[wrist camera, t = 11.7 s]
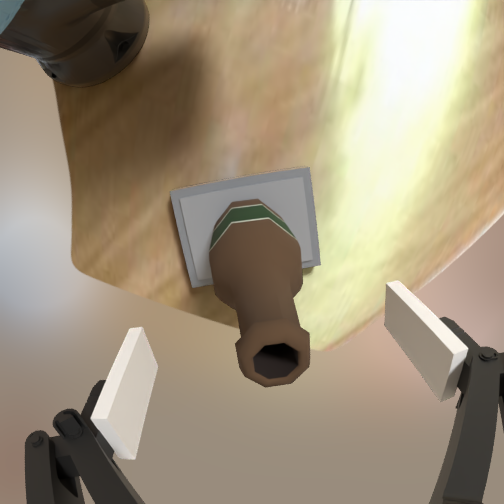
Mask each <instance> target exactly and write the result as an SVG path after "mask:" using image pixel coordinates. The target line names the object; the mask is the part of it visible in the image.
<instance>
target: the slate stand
mask: <svg viewBox="0 0 504 504" xmlns="http://www.w3.org/2000/svg"><path fill="white" fill-rule="evenodd" d="M170 195H171V200H172V205H173V209H174V214H175V218H176V223H177V227H178V231H179V236H180V240H181V244H182V248H183V253H184V257H185V261H186V265H187V269H188V273H189V277H190V281H191V285H192V288H194V287H200V286H206V285H212V284H213V279H212V273H211V267H210V262H209V250H210V245H211V240H212V235H213V230H214V226H215V223H216V222H217V220H218V219H219V218H220V217H221V215H222V214H223V213H224V211H225V210H226V209H227V207H228V206H229V205H230V204H231V202H235V201H242V200H250V199H259V200H260V201H262V202H263V203H264V204H266V205H267V206H268V207H270V208H271V209H272V210H273V211H275V212H276V213H277V214H278V215H280V216H281V217H282V219H283V220H284V222H285V223H286V225H287V226H288V227H289V229H290V230H291V232H292V233H293V235H294V236H295V238H296V239H297V240H298V243H299V245H300V248H301V259H302V268H308V267H313V266H318V265H321V262H320V252H319V242H318V232H317V223H316V214H315V206H314V198H313V190H312V182H311V174H310V167H307V166H303V167H296V168H289V169H282V170H275V171H269V172H263V173H257V174H251V175H245V176H239V177H233V178H228V179H222V180H217V181H212V182H206V183H201V184H196V185H191V186H186V187H181V188H177V189H173V190H171V191H170Z"/></svg>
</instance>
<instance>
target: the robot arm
mask: <svg viewBox="0 0 504 504" xmlns="http://www.w3.org/2000/svg"><path fill="white" fill-rule="evenodd" d="M148 28H149V12H148V8H147V5H146V3H145V2H144V0H0V48H4V49H7V50H10V51H14V52H17V53H20V54H23V55H26V56H30V57H33V58H35V59H36V60H37V62H38V63H39V64H40V66H41V67H42V68H43V70H44V71H45V73H46V74H47V75H48V76H49V77H51V78H52V79H53V80H55V81H57V82H59V83H62V84H65V85H68V86H73V87H87V86H92V85H96V84H99V83H101V82H104V81H106V80H108V79H110V78H111V77H113V76H115V75H116V74H117V73H119V72H120V71H121V70H123V69H124V68H125V67H126V66H127V65H128V64H129V63H130V62H131V61H132V60H133V58H134V57H135V56H136V55H137V53H138V52H139V50H140V49H141V47H142V45H143V43H144V41H145V38H146V36H147V32H148ZM384 325H385V327H386V328H387V330H388V331H389V332H390V334H391V335H392V336H393V338H394V339H395V340H396V341H397V343H398V344H399V346H401V348H402V350H403V351H404V352H405V353H406V355H407V356H408V358H409V359H410V360H411V362H412V363H413V364H414V366H415V367H416V369H417V370H418V371H419V373H420V374H421V376H422V377H423V378H424V380H425V381H426V382H427V384H428V385H429V387H430V388H431V390H432V391H433V392H434V394H435V395H436V397H437V398H438V400H439V401H440V402H442V401H444V400H447V399H449V398H451V397H453V396H454V395H455V392H456V389H457V387H458V388H459V389H460V391H461V395H460V398H459V400H458V403H457V406H456V408H457V413H456V417H455V421H454V426H453V430H452V434H451V438H450V441H449V445H448V449H447V452H446V456H445V459H444V463H443V466H442V469H441V472H440V475H439V478H438V481H437V483H436V486H435V489H434V492H433V494H432V497H431V500H430V502H429V504H483V503H482V498H483V494H484V490H485V486H486V482H487V477H488V472H489V468H490V462H491V457H492V451H493V445H494V438H495V431H496V422H497V413H498V403H499V407H500V413H501V418H502V424H503V430H504V353H498V352H497V351H496V350H495V349H493V348H490V347H480V346H479V345H478V344H477V343H476V342H475V341H474V340H473V339H472V338H471V337H470V336H469V335H468V334H467V333H466V332H465V333H464V330H463V329H461V328H459V326H458V325H457V324H456V323H455V322H454V321H453V320H451V319H448V318H446V317H442V318H437V316H435V314H433V313H432V312H431V311H430V310H429V309H428V308H427V307H426V306H425V305H424V304H423V303H422V302H421V301H420V300H419V299H418V298H417V297H415V295H414V294H412V293H411V292H410V291H409V290H408V289H407V288H406V287H405V286H404V285H403V284H402V283H401V282H399V281H398V280H397V281H393V282H389V283H386V301H385V323H384ZM157 369H158V365H157V362H156V360H155V358H154V355H153V353H152V350H151V348H150V345H149V343H148V340H147V337H146V335H145V332H144V329H143V327H138V328H130V329H129V331H128V333H127V336H126V338H125V340H124V342H123V344H122V346H121V348H120V351H119V353H118V355H117V357H116V360H115V362H114V364H113V366H112V368H111V371H110V373H109V375H108V378H107V380H100V381H99V382H98V383H97V384H96V385H95V386H94V387H93V388H92V391H91V393H90V396H89V397H88V400H87V403H86V404H85V406H84V409H83V411H82V413H81V415H80V414H79V413H78V412H77V411H76V410H74V409H66V410H63V411H61V412H59V413H58V414H57V415H56V417H54V420H53V427H54V428H55V429H56V431H57V432H58V433H59V435H60V436H55V437H49V436H48V434H47V433H46V432H44V431H41V430H40V431H35V432H33V433H31V434H30V435H29V436H28V437H27V439H26V442H25V483H26V499H27V504H85V502H84V498H83V493H82V489H81V484H80V479H79V476H81V478H82V480H83V482H84V484H85V486H86V488H87V490H88V491H89V493H90V495H91V497H92V499H93V500H94V502H95V504H145V503H144V501H143V500H142V499H141V497H140V496H139V495H138V494H137V492H136V491H135V490H134V488H133V487H132V485H131V484H130V483H129V481H128V480H127V479H126V477H125V476H124V474H123V473H122V471H121V470H120V468H119V467H118V466H117V464H116V463H115V461H114V460H113V459H112V457H113V453H114V452H115V453H116V454H117V456H118V457H119V458H120V459H136V454H137V450H138V446H139V441H140V436H141V433H142V428H143V424H144V420H145V416H146V411H147V408H148V404H149V400H150V396H151V392H152V388H153V384H154V380H155V377H156V373H157Z"/></svg>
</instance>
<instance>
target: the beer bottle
mask: <svg viewBox="0 0 504 504" xmlns="http://www.w3.org/2000/svg"><path fill="white" fill-rule="evenodd" d="M209 262H210V267H211V273H212V279H213V284H214V290H215V295H216V296H217V297H218V298H219V299H220V300H221V301H222V302H224V303H225V304H227V305H228V306H230V307H231V308H233V309H235V310H236V312H237V316H238V322H239V328H240V334H241V338H240V339H239V340H238V341H237V342H236V343H235V346H236V352H237V357H238V363H239V367H240V369H241V371H242V373H243V374H244V376H245V377H247V378H248V379H250V380H252V381H254V382H256V383H258V384H260V385H262V386H264V387H271V386H278V385H285V384H291V383H292V382H294V381H295V380H296V379H297V378H298V377H299V376H300V375H301V374H302V373H303V372H304V371H305V370H306V369H307V368H309V365H310V334H309V332H307V331H306V330H304V329H303V328H301V327H300V323H299V319H298V315H297V311H296V307H295V304H294V300H293V298H294V296H295V295H296V294H297V293H298V292H299V291H300V290H301V287H302V284H303V275H302V259H301V248H300V245H299V243H298V240H297V239H296V238H295V236H294V235H293V233H292V232H291V230H290V229H289V227H288V226H287V225H286V223H285V222H284V220H283V219H282V217H281V216H280V215H278V214H277V213H276V212H275V211H273V210H272V209H271V208H270V207H268V206H267V205H266V204H264V203H263V202H262V201H260V200H259V199H250V200H242V201H235V202H231V204H230V205H229V206H228V207H227V209H226V210H225V211H224V213H223V214H222V215H221V217H220V218H219V219H218V220H217V222H216V223H215V226H214V230H213V235H212V240H211V245H210V250H209Z"/></svg>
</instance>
